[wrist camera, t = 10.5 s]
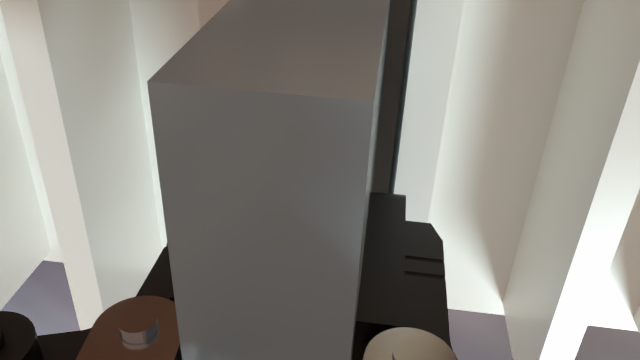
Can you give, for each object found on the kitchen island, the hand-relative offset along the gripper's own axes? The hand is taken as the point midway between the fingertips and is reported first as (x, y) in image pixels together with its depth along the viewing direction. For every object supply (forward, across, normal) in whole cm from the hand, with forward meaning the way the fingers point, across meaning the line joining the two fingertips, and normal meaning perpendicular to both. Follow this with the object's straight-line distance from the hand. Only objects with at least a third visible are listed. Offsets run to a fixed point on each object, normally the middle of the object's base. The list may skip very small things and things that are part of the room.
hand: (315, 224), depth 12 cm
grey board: (+5, 0, 0) cm, 5 cm away
